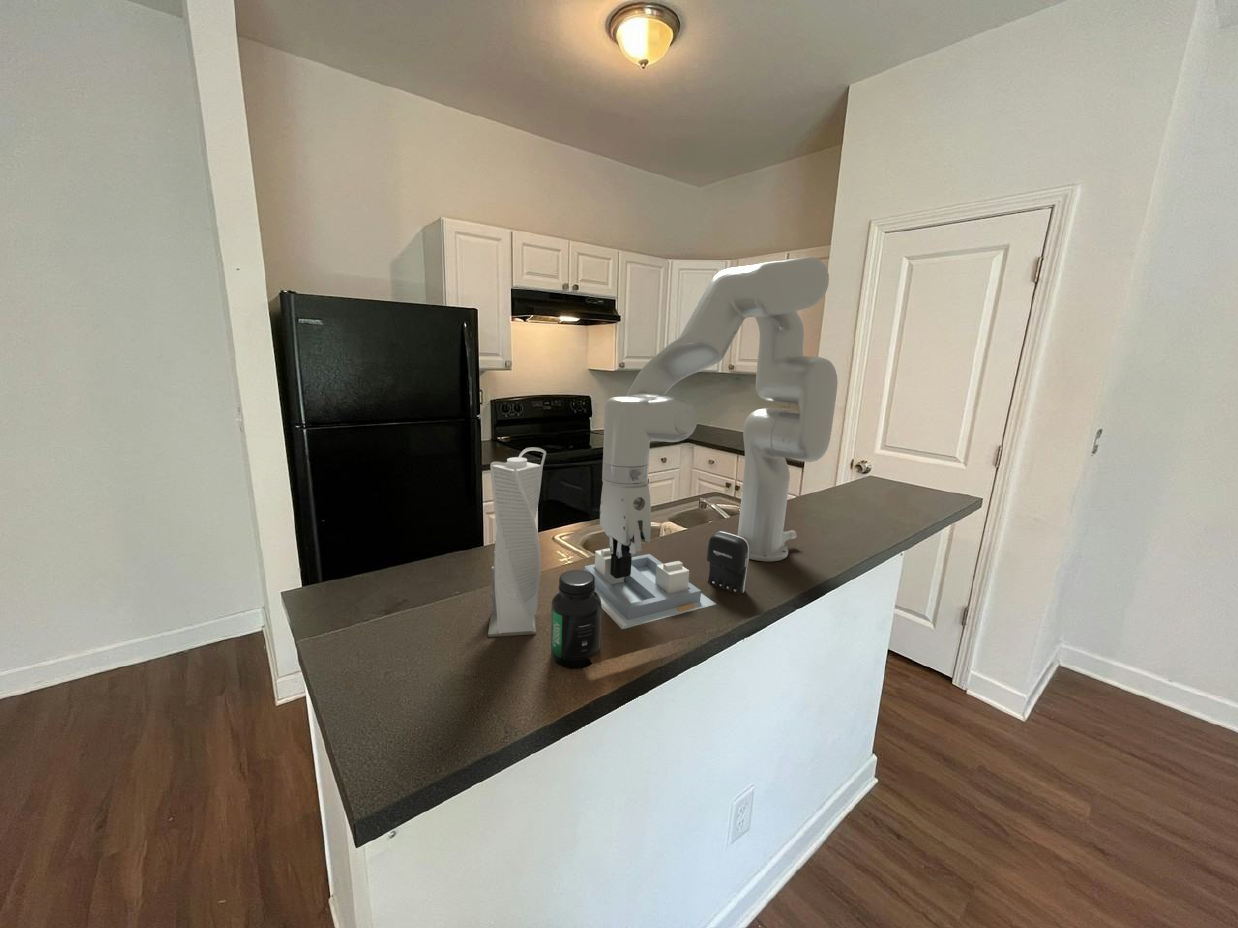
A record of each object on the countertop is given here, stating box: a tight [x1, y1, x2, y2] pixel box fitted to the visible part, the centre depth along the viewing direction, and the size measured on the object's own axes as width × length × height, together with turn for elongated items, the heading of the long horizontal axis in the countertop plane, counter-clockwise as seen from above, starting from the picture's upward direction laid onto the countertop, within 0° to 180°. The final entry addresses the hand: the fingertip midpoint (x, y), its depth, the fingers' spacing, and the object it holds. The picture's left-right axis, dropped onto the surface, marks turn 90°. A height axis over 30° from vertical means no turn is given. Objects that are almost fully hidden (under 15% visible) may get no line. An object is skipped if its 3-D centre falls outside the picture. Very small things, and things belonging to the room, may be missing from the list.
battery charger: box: [706, 531, 750, 595], centre depth 86 cm, size 7×4×11 cm, turn 50°
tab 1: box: [594, 547, 624, 584], centre depth 87 cm, size 4×4×6 cm
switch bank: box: [583, 553, 717, 630], centre depth 85 cm, size 18×20×4 cm
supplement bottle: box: [550, 569, 602, 670], centre depth 67 cm, size 7×7×12 cm
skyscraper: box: [487, 446, 547, 638], centre depth 72 cm, size 8×8×28 cm
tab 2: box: [655, 560, 690, 594], centre depth 82 cm, size 4×4×6 cm
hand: (620, 575), depth 84 cm, fingers closed
